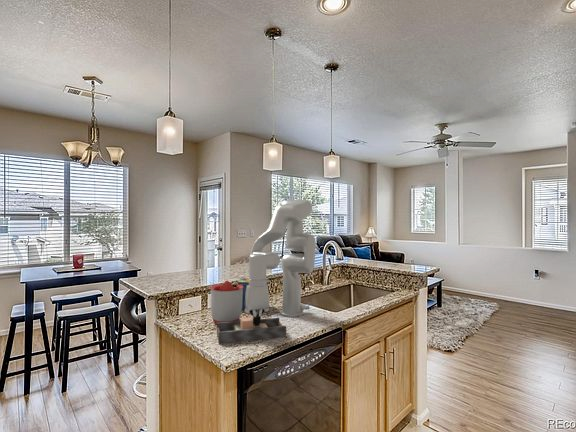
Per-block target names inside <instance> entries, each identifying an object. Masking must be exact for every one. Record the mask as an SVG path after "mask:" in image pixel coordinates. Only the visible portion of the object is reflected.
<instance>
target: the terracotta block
mask: <svg viewBox="0 0 576 432" xmlns="http://www.w3.org/2000/svg"><path fill="white" fill-rule="evenodd" d="M239 321H240V328H241V330H244V329H253V317H251V316H248V317H247V316H246V317H240V319H239Z"/></svg>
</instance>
